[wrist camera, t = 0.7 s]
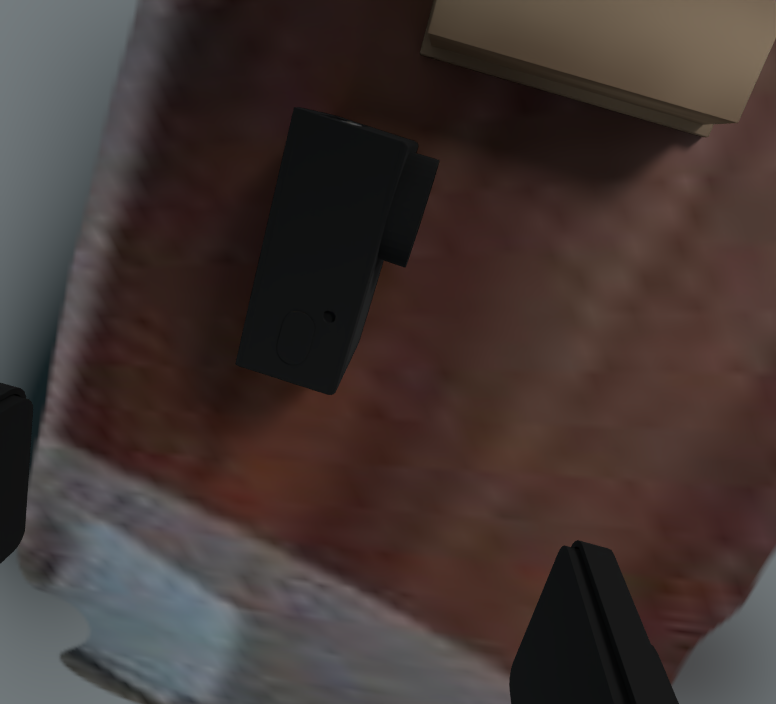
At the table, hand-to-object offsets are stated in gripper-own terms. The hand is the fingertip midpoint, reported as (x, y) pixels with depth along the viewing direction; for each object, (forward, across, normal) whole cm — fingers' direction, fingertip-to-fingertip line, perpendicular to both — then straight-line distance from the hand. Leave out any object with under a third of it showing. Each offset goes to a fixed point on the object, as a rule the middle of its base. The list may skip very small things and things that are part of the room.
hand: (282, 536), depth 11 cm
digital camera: (+21, +2, -2) cm, 21 cm away
